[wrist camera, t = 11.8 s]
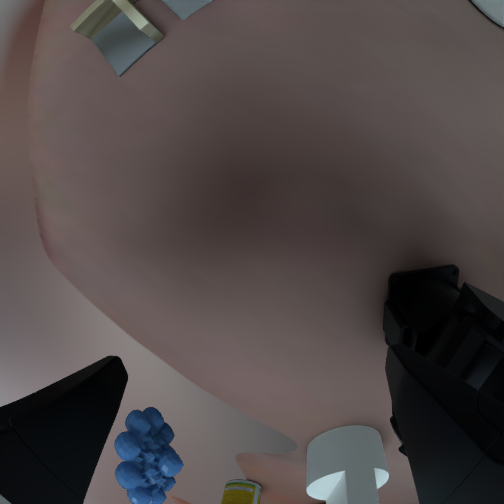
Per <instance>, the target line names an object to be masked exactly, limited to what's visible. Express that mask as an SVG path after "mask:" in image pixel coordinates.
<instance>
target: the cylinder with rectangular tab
mask: <svg viewBox="0 0 504 504" xmlns="http://www.w3.org/2000/svg"><path fill="white" fill-rule="evenodd" d="M388 478H389V473H388V468H387V463H386V458H385V454H384V449H383V445H382V440H381V436H380V434H379V432H378V431H377V430H376V429H374V428H372V427H368V426H364V425H351V426H343V427H339V428H335V429H332V430H329V431H327V432H324V433H322V434H320V435H319V436H317V437H315V438H314V439H313V440H312V441H311V442H310V443H309V445H308V447H307V493H308V495H309V496H311V497H313V498H316V499H319V500H326V504H379V497H378V491H377V489H378V488H380V487H381V486H382V485H384V484H385V483H386V482H387V480H388Z"/></svg>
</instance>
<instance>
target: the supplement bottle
mask: <svg viewBox="0 0 504 504" xmlns="http://www.w3.org/2000/svg"><path fill="white" fill-rule="evenodd" d="M260 496H261V486H260V485H259V484H257V483H255V482H252V481H248V480H241V479H237V480H230V481H228V482H227V483H226V486H225V490H224V494H223V499H222V503H221V504H259V503H260Z"/></svg>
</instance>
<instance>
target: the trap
mask: <svg viewBox="0 0 504 504" xmlns="http://www.w3.org/2000/svg"><path fill="white" fill-rule="evenodd" d="M136 1H137V0H96V1H95V2H94V3H93V4H92V5H91V6H90V7H89V8H88V9H87V10H86V11H85V12H84V13H83V14H82V15H81V16H80V17H79V18H78V19H77V20H76V21H75V22H74V23H73V24H72V25H71V28H72V29H73V31H74V32H77V33H79V34H81V35H83V36H85V37H87V38H89V39H91V40H93V42H94V43H95V44H96V46H97V47H98V48H99V50H100V51H101V52H102V54H103V55H104V56H105V58H106V59H107V60H108V62H109V63H110V64H111V66H112V67H113V69H114V70H115V71H116V73H117V74H118V75H119V76H121V75H122V74H123V73H124V72H125V71H126V70H128V69H129V68H130V67H131V66H132V65H133V64H134V63H135V62H136V61H137V60H138V59H139V58H140V57H142V56H143V55H144V54H145V53H146V52H147V51H148V50H150V49H151V48H152V47H153V46H154V45H155V44H157V43H158V42H159V41H160V40H162V39H163V38H164V37H165V36H164V35H163V34H162V33H161V32H160V31H159V30H158V29H157V28H156V27H155V26H154V25H153V24H152V23H151V22H150V21H149V20H148V19H147V18H146V17H145V16H144V15H143V13H142V12H141V11H139V10H138V9H137V8H136V7H135V6H134V5H133V3H135V2H136Z"/></svg>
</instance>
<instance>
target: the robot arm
mask: <svg viewBox="0 0 504 504" xmlns="http://www.w3.org/2000/svg"><path fill="white" fill-rule="evenodd" d="M454 269H455V271H454V273H452V271H453V270H454ZM458 276H459V269H458V267H456V266H455V265H449V266H442V267H436V268H429V269H422V270H415V271H408V272H401V273H394V274H392V275H391V276H390V278H389V289H388V300H387V301H386V302H385V307H384V322H383V330H384V332H385V342H386V344H387V345H388V346H389V347H388V351H387V358H386V365H385V370H386V376H387V380H388V385H389V390H390V395H391V400H392V414H393V416H392V417H391V418H390V422H391V425H392V428H393V430H394V432H395V434H396V435H397V437H398V439H399V440H400V442H401V443H402V445H401V446H400V447H399V451H400V452H401V453H403V454H404V455H406V456H407V457H408V460H409V464H410V467H411V471H412V475H413V479H414V483H415V487H416V491H417V495H418V499H419V504H504V302H503V301H501V300H499V299H497V298H495V297H494V296H492V295H490V294H488V293H486V292H484V291H482V290H480V289H478V288H476V287H474V286H472V285H470V284H468V283H466V282H464V284H463V286H462V288H461V289H460V288H459V287H458V286H457V285H458ZM396 278H398V280H397V281H396V282H393V281H394V279H396ZM127 381H128V374H127V371H126V369H125V367H124V365H123V363H122V360H121V359H120V358H119V357H118V356H107V357H105V358H103V359H101V360H99V361H97V362H95V363H93V364H91V365H89V366H87V367H85V368H83V369H81V370H79V371H77V372H76V373H73V374H71V375H69V376H67V377H65V378H63V379H61V380H59V381H57V382H55V383H53V384H51V385H49V386H47V387H45V388H43V389H41V390H39V391H37V392H36V393H32V394H30V395H28V396H26V397H24V398H21V399H19V400H17V401H15V402H12V403H10V404H7V405H4V406H2V407H0V504H83V502H84V499H85V496H86V493H87V490H88V487H89V485H90V482H91V479H92V476H93V474H94V471H95V468H96V465H97V463H98V460H99V458H100V455H101V453H102V450H103V447H104V445H105V443H106V440H107V438H108V435H109V433H110V430H111V427H112V425H113V423H114V420H115V418H116V415H117V413H118V410H119V407H120V403H121V400H122V397H123V394H124V390H125V387H126V384H127Z"/></svg>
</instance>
